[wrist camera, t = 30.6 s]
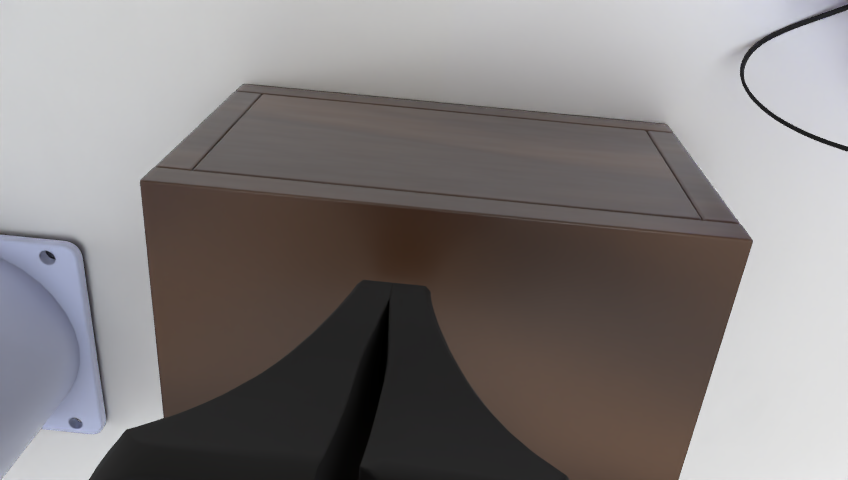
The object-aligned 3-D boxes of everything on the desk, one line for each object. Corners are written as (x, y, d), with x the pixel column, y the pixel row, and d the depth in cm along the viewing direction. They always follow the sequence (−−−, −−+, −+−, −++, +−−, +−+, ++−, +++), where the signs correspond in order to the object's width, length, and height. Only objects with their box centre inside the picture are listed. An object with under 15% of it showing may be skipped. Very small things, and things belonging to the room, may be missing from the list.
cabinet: (586, 471, 28) (621, 664, 21) (253, 436, 28) (183, 616, 22) (668, 123, 22) (754, 240, 15) (242, 83, 22) (138, 180, 15)
